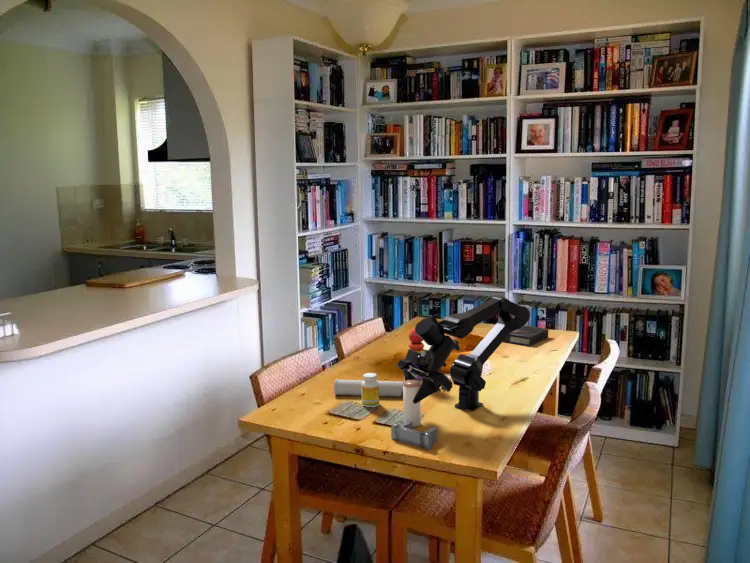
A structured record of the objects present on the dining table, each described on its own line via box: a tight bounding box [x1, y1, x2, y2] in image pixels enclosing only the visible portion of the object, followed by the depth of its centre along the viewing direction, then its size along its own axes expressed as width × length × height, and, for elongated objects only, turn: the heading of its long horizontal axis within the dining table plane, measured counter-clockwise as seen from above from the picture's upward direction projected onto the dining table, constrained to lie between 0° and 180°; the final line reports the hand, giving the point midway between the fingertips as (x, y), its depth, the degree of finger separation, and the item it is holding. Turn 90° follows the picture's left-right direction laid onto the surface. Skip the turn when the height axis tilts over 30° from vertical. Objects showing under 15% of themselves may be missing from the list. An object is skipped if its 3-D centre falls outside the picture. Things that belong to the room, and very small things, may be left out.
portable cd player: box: [502, 324, 549, 348], centre depth 268 cm, size 16×17×4 cm
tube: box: [333, 378, 404, 398], centre depth 207 cm, size 5×5×25 cm
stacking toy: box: [403, 328, 425, 387], centre depth 216 cm, size 8×8×19 cm
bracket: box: [390, 420, 439, 450], centre depth 173 cm, size 6×12×4 cm, turn 52°
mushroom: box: [402, 380, 422, 428], centre depth 183 cm, size 5×5×12 cm
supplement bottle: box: [361, 372, 380, 408], centre depth 198 cm, size 5×5×10 cm
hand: (407, 400), depth 182 cm, fingers open, 5 cm apart
